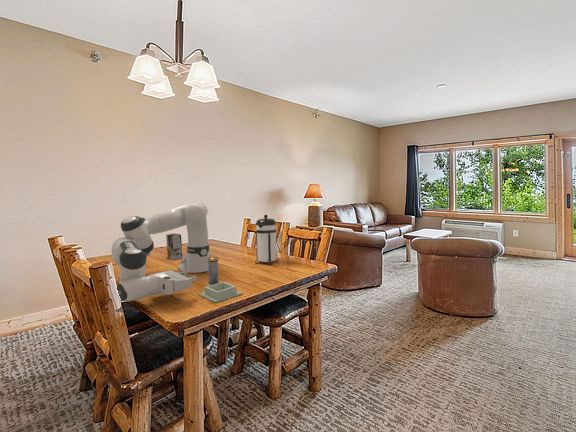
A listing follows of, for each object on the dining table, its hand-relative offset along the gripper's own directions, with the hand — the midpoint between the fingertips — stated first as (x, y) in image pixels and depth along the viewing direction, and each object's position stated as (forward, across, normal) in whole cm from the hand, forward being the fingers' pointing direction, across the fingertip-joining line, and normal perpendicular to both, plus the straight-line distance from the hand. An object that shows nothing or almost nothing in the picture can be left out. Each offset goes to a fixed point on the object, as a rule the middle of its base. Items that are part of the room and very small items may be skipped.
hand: (190, 275), depth 140 cm
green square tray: (+8, +12, -8) cm, 16 cm away
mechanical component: (+2, -63, -8) cm, 64 cm away
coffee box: (+25, -70, -8) cm, 75 cm away
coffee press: (+60, -16, -8) cm, 62 cm away
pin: (+12, 0, -8) cm, 14 cm away
